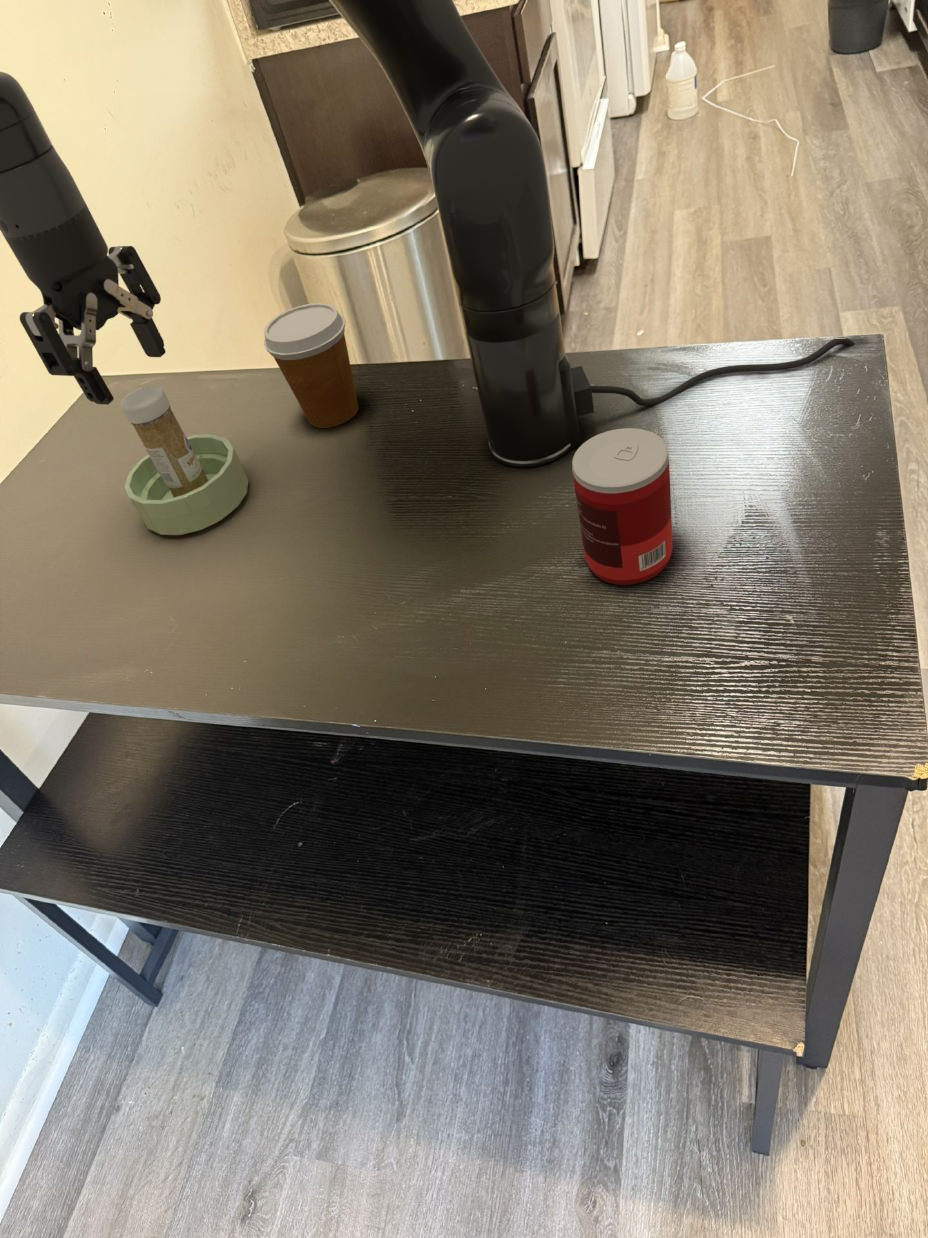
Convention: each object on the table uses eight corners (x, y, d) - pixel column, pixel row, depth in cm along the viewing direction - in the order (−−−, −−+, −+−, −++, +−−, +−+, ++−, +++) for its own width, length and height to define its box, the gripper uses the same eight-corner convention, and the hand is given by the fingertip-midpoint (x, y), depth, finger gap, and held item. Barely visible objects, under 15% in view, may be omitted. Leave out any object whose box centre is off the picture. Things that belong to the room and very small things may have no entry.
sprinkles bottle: (221, 498, 96) (167, 393, 87) (184, 517, 95) (126, 413, 86) (207, 481, 99) (154, 378, 90) (171, 500, 98) (113, 397, 89)
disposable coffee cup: (287, 411, 108) (251, 322, 99) (357, 382, 109) (328, 292, 101) (307, 446, 101) (270, 353, 93) (382, 415, 103) (352, 321, 94)
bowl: (253, 460, 102) (236, 424, 98) (246, 523, 93) (228, 486, 89) (154, 484, 102) (134, 449, 99) (138, 550, 94) (116, 514, 90)
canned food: (680, 529, 78) (676, 427, 71) (664, 591, 73) (658, 489, 66) (596, 524, 81) (584, 425, 73) (576, 584, 76) (560, 485, 68)
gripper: (15, 251, 69) (115, 421, 81) (124, 177, 78) (201, 340, 89) (-46, 254, 73) (58, 417, 84) (65, 182, 81) (146, 340, 92)
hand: (131, 377), depth 87 cm, fingers open, 8 cm apart
